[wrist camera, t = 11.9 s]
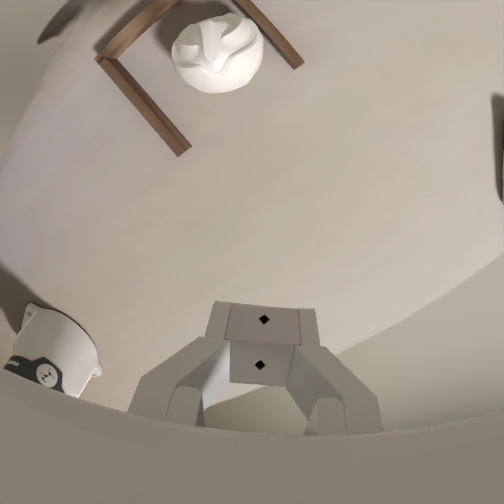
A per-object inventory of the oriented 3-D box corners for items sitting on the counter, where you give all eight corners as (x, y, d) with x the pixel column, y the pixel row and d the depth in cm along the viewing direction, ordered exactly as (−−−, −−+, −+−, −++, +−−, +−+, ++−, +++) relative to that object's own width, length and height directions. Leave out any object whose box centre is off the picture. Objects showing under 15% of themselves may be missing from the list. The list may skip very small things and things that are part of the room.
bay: (184, 152, 31) (177, 157, 29) (105, 59, 26) (94, 58, 24) (302, 64, 26) (304, 61, 24) (212, -32, 21) (207, -40, 19)
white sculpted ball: (256, 15, 24) (249, -9, 17) (275, 82, 27) (274, 78, 20) (178, 37, 25) (149, 23, 18) (196, 102, 28) (172, 105, 22)
